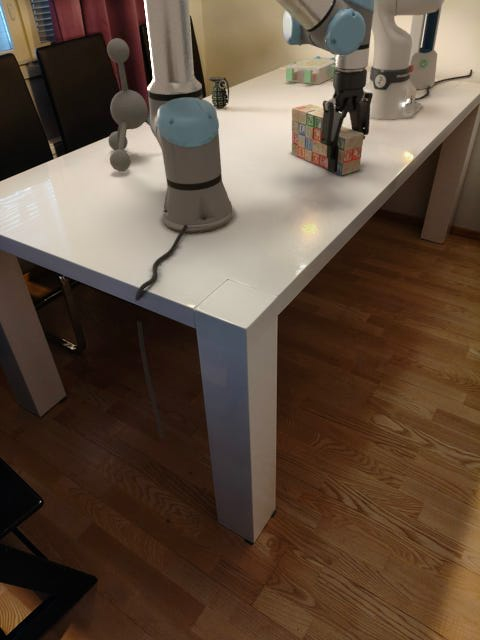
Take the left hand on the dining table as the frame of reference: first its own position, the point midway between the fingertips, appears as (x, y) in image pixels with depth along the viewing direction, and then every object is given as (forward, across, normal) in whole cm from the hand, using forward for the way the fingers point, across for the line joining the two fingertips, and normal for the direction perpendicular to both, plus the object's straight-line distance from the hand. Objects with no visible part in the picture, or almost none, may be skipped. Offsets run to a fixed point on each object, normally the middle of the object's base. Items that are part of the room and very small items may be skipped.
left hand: (342, 167), depth 125 cm
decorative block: (+1, -59, -86) cm, 104 cm away
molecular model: (+1, +37, -42) cm, 56 cm away
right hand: (-34, -16, -20) cm, 42 cm away
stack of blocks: (+1, 0, -7) cm, 7 cm away
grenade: (+1, -5, -72) cm, 73 cm away
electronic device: (+1, -77, -47) cm, 90 cm away
